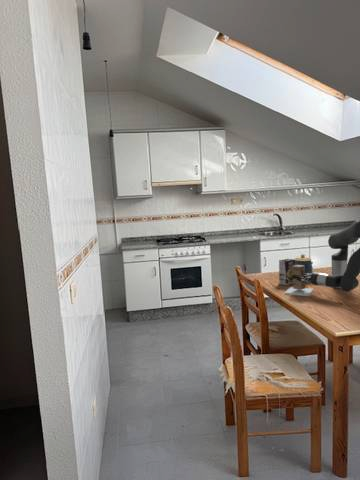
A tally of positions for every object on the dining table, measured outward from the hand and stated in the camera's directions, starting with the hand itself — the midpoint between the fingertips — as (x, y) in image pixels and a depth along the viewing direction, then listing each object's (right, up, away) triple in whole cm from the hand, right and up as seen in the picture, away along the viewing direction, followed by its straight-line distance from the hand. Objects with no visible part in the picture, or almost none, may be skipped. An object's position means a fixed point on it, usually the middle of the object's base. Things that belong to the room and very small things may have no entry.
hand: (295, 275), depth 228 cm
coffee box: (+1, -7, +21) cm, 23 cm away
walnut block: (+2, -8, -1) cm, 8 cm away
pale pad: (+2, -10, -1) cm, 10 cm away
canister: (+15, -6, +31) cm, 35 cm away
